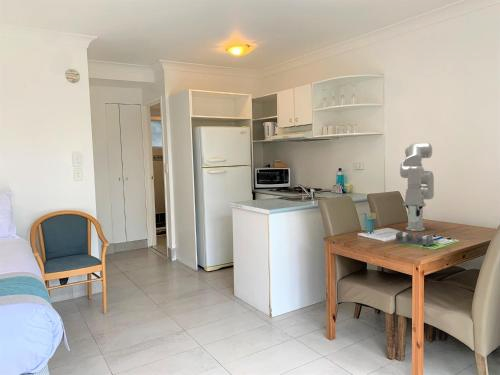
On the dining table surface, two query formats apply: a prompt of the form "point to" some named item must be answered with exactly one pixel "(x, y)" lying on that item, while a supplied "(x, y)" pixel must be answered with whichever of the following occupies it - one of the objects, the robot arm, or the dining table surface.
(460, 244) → the dining table surface
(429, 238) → the rack
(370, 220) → the cup
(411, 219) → the pale green rectangular prism
